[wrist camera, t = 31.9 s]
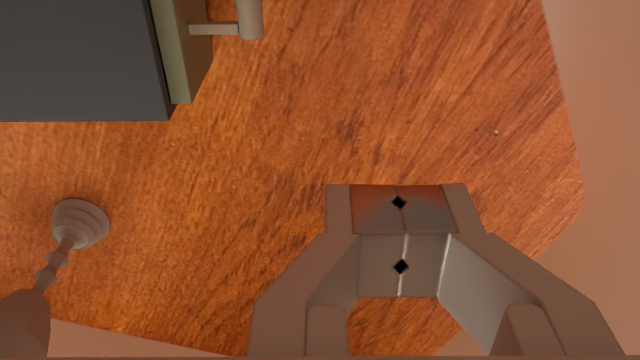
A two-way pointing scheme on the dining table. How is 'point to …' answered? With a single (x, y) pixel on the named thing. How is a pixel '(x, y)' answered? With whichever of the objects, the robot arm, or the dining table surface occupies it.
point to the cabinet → (80, 62)
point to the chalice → (48, 280)
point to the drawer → (196, 40)
